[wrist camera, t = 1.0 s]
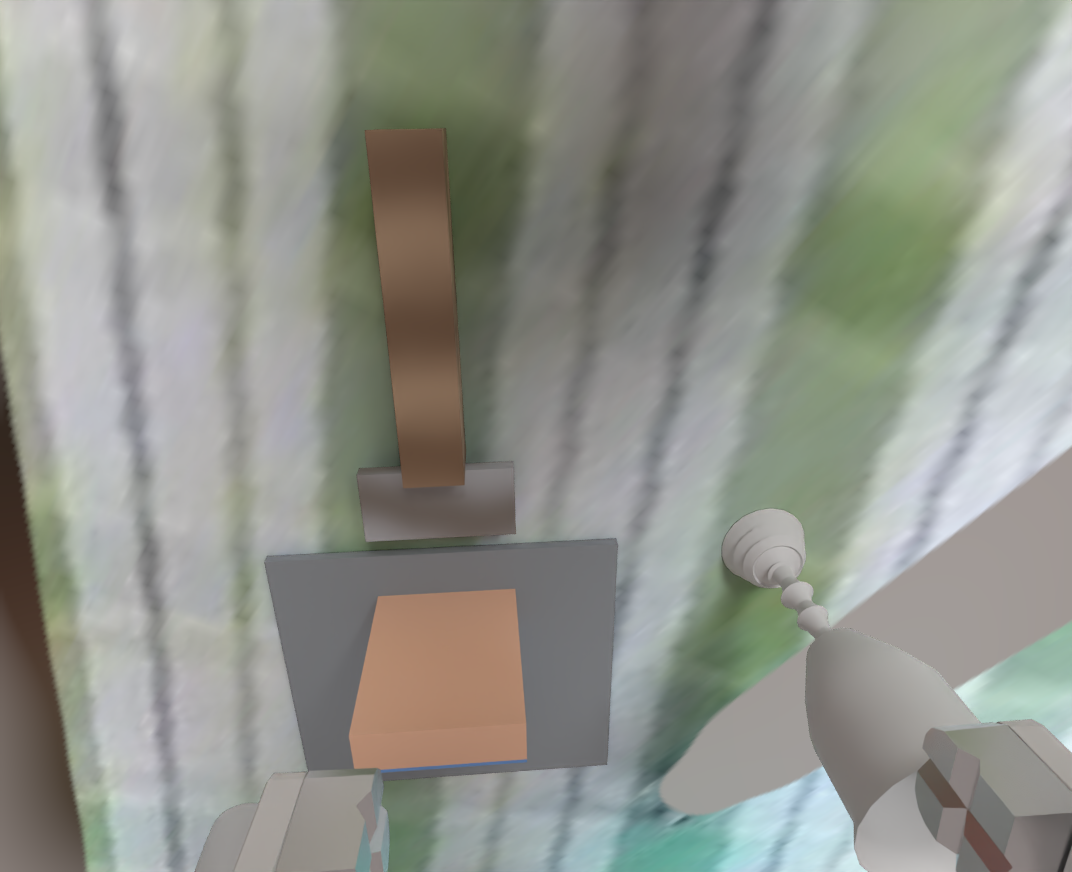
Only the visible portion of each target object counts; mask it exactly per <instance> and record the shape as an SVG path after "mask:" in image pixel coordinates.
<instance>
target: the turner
mask: <svg viewBox="0 0 1072 872" xmlns="http://www.w3.org/2000/svg"><path fill="white" fill-rule="evenodd" d="M365 137H366V147H367V156H368V166H369V175H370V184H371V194H372V203H373V212H374V222H375V231H376V240H377V250H378V259H379V268H380V278H381V287H382V296H383V306H384V315H385V324H386V334H387V343H388V352H389V362H390V371H391V380H392V390H393V399H394V408H395V418H396V427H397V436H398V446H399V455H400V464H401V466H396V467H375V468H359V470H358V473H357V482H358V489H359V497H360V504H361V511H362V518H363V526H364V533H365V540H366V542H373V541H392V540H411V539H430V538H449V537H468V536H487V535H506V534H516V524H515V490H514V465H513V461H505V462H484V463H465V462H466V445H465V429H464V413H463V397H462V380H461V364H460V348H459V332H458V316H457V300H456V284H455V267H454V251H453V235H452V219H451V203H450V187H449V171H448V154H447V138H446V128H440V129H377V130H365Z"/></svg>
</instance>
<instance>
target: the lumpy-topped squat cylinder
mask: <svg viewBox="0 0 1072 872" xmlns="http://www.w3.org/2000/svg"><path fill="white" fill-rule="evenodd" d="M258 804H259V803H245V804H240V805H237V806H234V807H232V808H230V809H228V810H226V811H225V812H223V813H222V814H221V815H220V816H219V817H218V818H217V819H216V821H215V822H214V824H213V826H212V828H211V830H210V833H209V835H208V837H207V840H206V842H205V845H204V847H203V850H202V853H201V855H200V858H199V861H198V863H197V866H196V869H195V871H194V872H233V870H234V867H235V864H236V862H237V859H238V856H239V854H240V851H241V848H242V846H243V843H244V841H245V838H246V835H247V833H248V830H249V827H250V825H251V822H252V820H253V817H254V814H255V812H256V809H257V806H258Z"/></svg>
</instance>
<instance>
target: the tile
mask: <svg viewBox="0 0 1072 872" xmlns="http://www.w3.org/2000/svg"><path fill="white" fill-rule="evenodd" d="M349 740H350V746H351V752H352V758H353V764H354V769H362V768H379V769H380V770H381V773H385V772H399V771H413V770H427V769H441V768H455V767H468V766H482V765H496V764H510V763H524V762H527V737H526V715H525V702H524V690H523V677H522V665H521V653H520V640H519V628H518V616H517V603H516V591H515V589H501V590H483V591H465V592H447V593H428V594H410V595H392V596H378V599H377V604H376V608H375V613H374V618H373V623H372V627H371V632H370V637H369V642H368V646H367V651H366V656H365V661H364V666H363V670H362V675H361V680H360V685H359V689H358V694H357V699H356V704H355V708H354V713H353V718H352V723H351V727H350V732H349Z"/></svg>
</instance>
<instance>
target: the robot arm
mask: <svg viewBox="0 0 1072 872" xmlns="http://www.w3.org/2000/svg"><path fill="white" fill-rule="evenodd" d="M922 748H923V750H924V751H925V752H926V754H927V755H928V757H929V758H930V759H929V760H928V761H927V762H926V763H925V764H924V765H923V766H922V767H921V768H920V769H919V770H918V771H917V776H916V783H915V794H916V799H917V804H918V809H919V811H920V814H921V816H922V818H923V820H924V823H925V825H926V826H927V828H928V829H929V831H930V832H931V834H932V835H933V837H934V839H935V840H936V841H937V842H939V843H940V844H942V845H943V846H945V847H946V848H948V849H949V850H951V851H952V852H954V853H955V854H956V871H957V872H1072V753H1071V752H1070V751H1069V750H1068V749H1067V748H1066V747H1065V746H1064V745H1063V744H1062V743H1061V742H1060V741H1059V740H1058V739H1057V738H1056V737H1055V736H1054V735H1053V734H1052V733H1051V732H1050V731H1049V730H1048V729H1047V728H1046V727H1045V726H1043V725H1042V724H1040V723H1038V722H1036V721H1034V720H1032V719H1027V720H1015V721H1003V722H997V723H993V722H990V723H978V724H966V725H954V726H942V727H932V728H931V729H930V730H929V731H928V732H927V733H926V734H925V738H924V742H923V747H922ZM383 789H384V785H383V780H382V774H381V770H380V769H379V768H362V769H340V770H318V771H309V772H290V773H274V774H273V775H272V776H271V778H270V779H269V780H268V782H267V783H266V785H265V788H264V791H263V793H262V796H261V798H260V801H259V804H258V806H257V809H256V812H255V814H254V817H253V820H252V822H251V825H250V827H249V830H248V833H247V835H246V838H245V841H244V843H243V846H242V848H241V851H240V854H239V856H238V859H237V862H236V864H235V867H234V870H233V872H387V870H388V861H389V843H390V838H389V821H388V813H387V810H386V809H385V808H384V807H382V806H381V801H382V795H383Z"/></svg>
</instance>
